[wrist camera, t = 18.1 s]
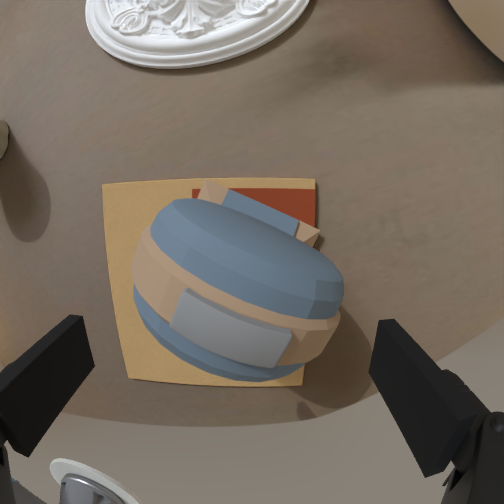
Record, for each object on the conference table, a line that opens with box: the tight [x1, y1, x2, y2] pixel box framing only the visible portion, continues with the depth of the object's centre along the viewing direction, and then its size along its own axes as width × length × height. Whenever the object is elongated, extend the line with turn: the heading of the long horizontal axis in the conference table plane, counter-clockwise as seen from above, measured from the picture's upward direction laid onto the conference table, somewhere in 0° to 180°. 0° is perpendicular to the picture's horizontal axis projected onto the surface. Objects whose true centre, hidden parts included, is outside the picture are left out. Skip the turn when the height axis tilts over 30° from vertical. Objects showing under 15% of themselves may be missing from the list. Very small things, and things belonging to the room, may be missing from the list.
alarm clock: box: [131, 179, 344, 382], centre depth 21 cm, size 14×10×18 cm
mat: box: [102, 178, 316, 387], centre depth 32 cm, size 24×22×1 cm
